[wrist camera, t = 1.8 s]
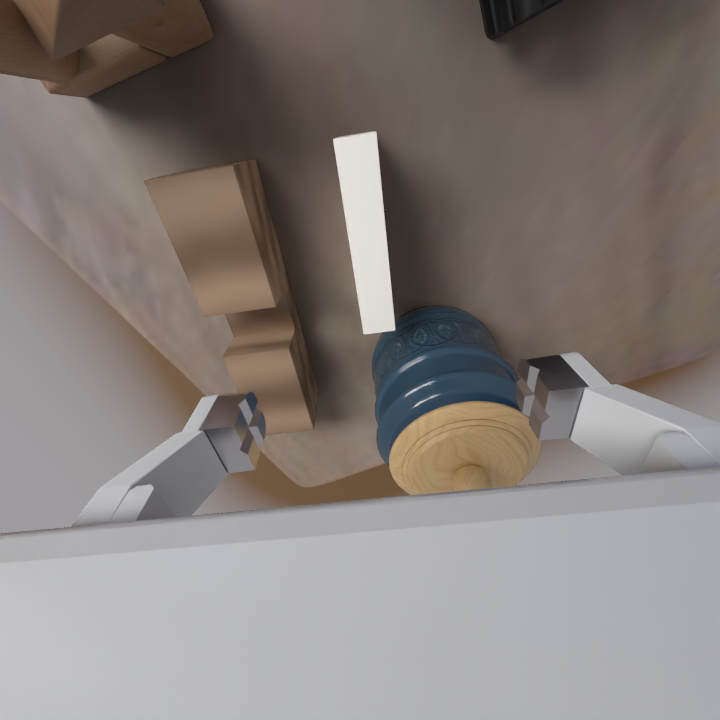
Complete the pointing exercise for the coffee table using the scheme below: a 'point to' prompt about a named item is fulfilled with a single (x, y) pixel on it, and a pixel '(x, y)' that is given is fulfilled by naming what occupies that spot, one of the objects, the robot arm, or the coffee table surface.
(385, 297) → the white rectangular slab
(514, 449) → the canister
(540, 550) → the robot arm
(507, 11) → the end cap
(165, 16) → the wooden block
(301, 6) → the coffee table surface
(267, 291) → the walnut crossbar
